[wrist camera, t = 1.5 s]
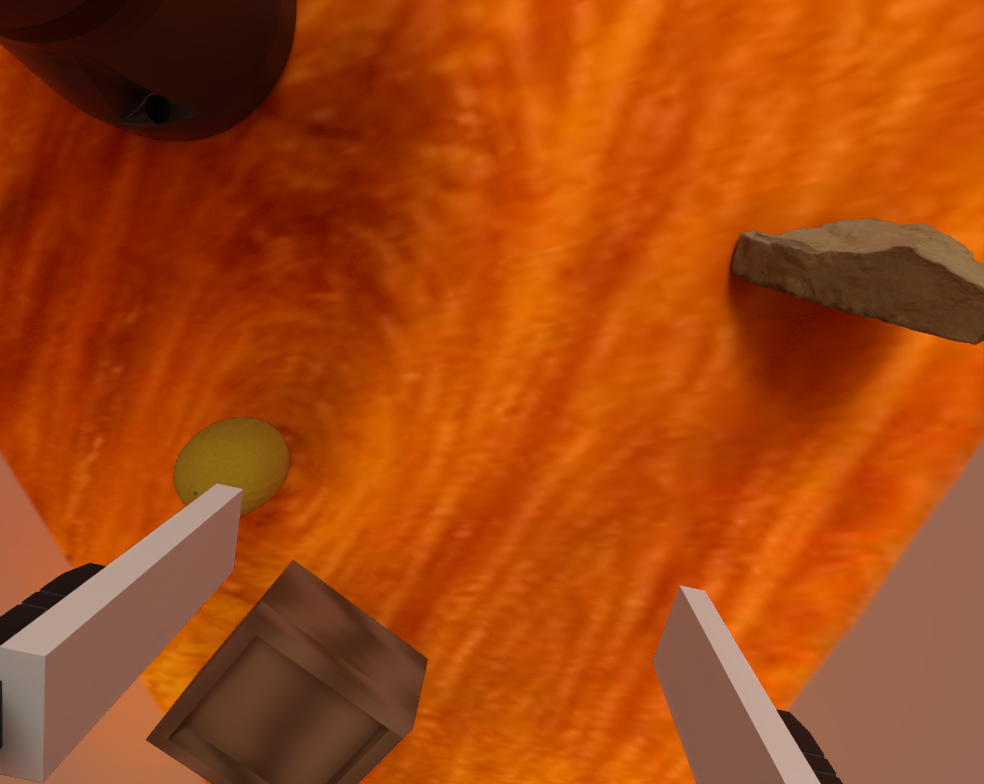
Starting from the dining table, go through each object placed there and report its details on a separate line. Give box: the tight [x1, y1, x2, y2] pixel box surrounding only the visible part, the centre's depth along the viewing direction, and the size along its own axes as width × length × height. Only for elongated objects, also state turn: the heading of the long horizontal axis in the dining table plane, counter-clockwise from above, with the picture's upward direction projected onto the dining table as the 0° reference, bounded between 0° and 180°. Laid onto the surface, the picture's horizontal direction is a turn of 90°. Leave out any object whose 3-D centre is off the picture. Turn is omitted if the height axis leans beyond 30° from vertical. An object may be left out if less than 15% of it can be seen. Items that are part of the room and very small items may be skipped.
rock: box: [731, 218, 984, 345], centre depth 27 cm, size 11×9×10 cm
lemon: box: [173, 417, 290, 516], centre depth 30 cm, size 6×6×8 cm
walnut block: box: [146, 560, 428, 784], centre depth 35 cm, size 12×12×6 cm
